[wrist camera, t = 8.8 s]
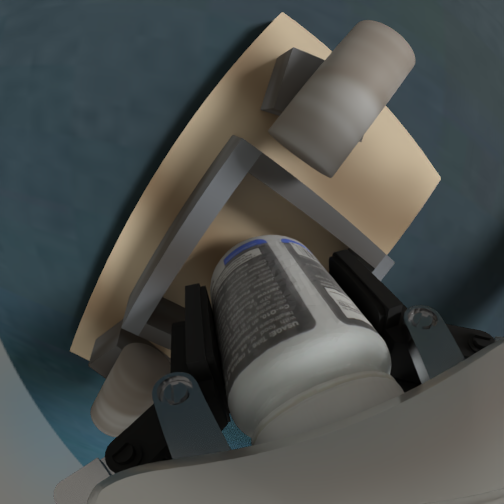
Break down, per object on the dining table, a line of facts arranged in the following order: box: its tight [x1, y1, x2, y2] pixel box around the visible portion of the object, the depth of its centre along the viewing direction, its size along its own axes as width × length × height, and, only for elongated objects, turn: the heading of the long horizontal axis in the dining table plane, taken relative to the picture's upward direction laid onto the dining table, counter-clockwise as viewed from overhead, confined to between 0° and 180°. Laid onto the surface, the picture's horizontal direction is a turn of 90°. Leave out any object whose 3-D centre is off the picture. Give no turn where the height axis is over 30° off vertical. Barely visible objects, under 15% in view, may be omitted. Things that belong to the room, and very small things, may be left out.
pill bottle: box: [210, 235, 404, 446], centre depth 9 cm, size 5×5×8 cm
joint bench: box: [70, 12, 441, 437], centre depth 12 cm, size 20×12×6 cm, turn 143°
